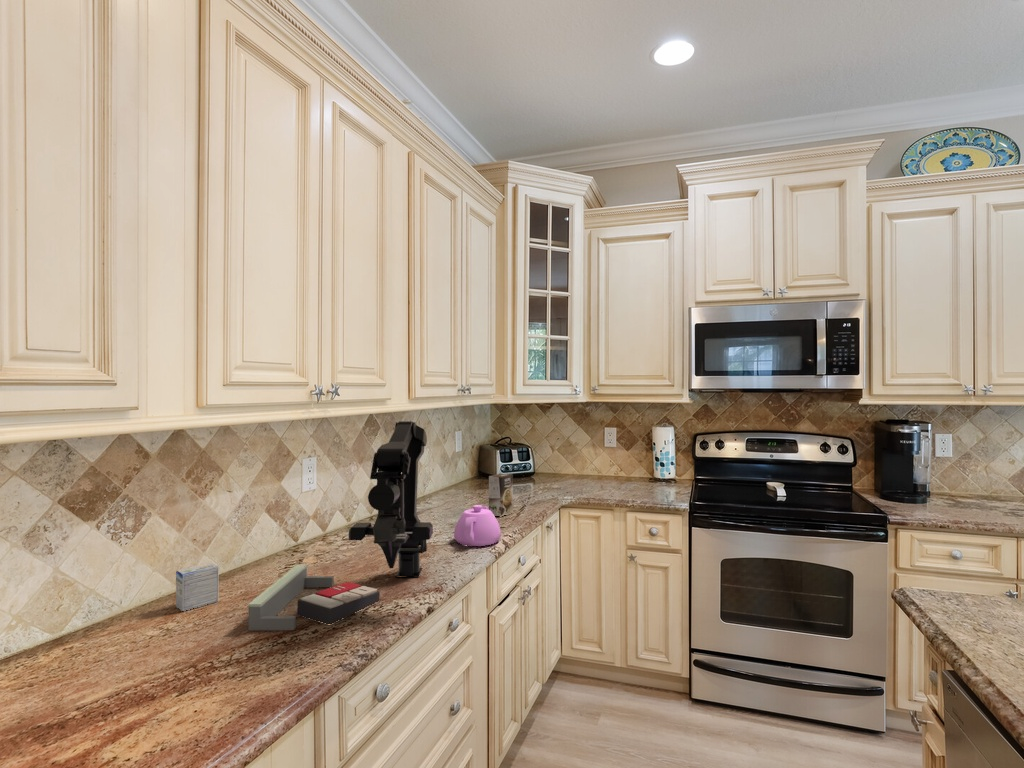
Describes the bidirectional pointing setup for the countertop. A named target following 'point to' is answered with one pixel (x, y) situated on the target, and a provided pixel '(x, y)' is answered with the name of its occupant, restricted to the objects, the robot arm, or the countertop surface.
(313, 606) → the calculator
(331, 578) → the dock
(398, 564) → the robot arm
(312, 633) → the countertop surface
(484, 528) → the teapot
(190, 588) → the medicine box
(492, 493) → the coffee box
